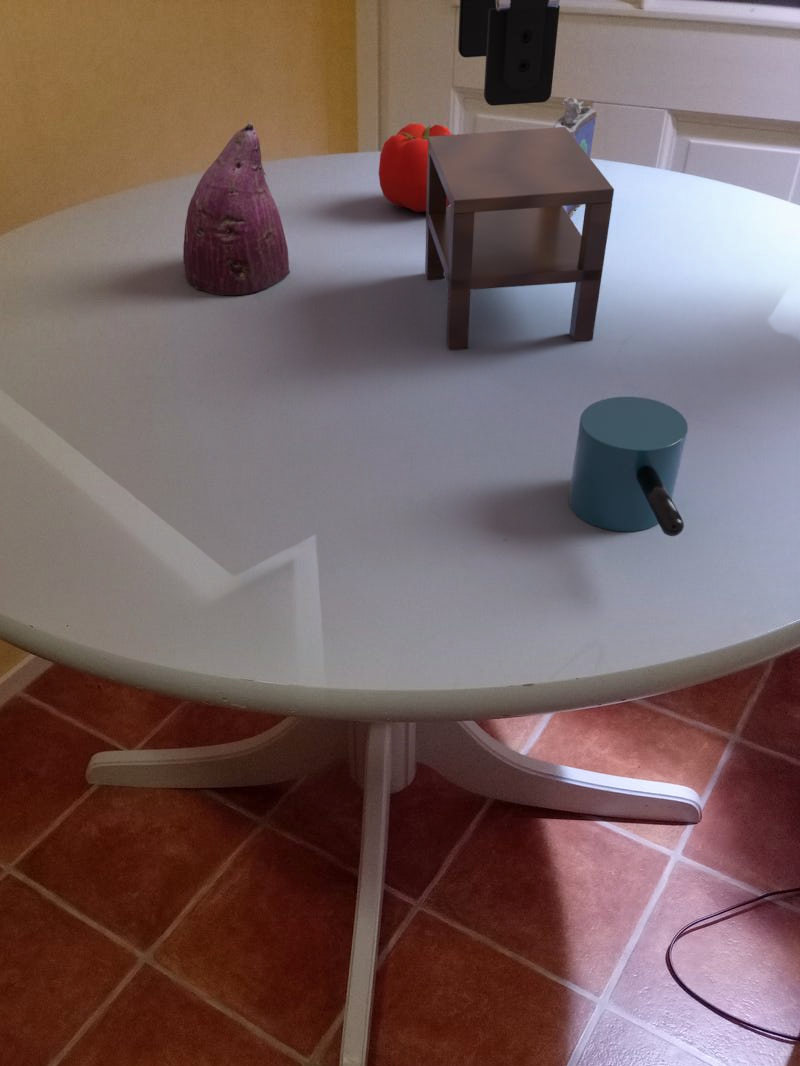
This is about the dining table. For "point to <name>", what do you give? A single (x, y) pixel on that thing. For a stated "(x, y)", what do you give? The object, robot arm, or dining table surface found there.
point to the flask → (578, 129)
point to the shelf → (514, 219)
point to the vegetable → (235, 224)
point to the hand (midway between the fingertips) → (500, 76)
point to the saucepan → (628, 465)
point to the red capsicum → (407, 166)
